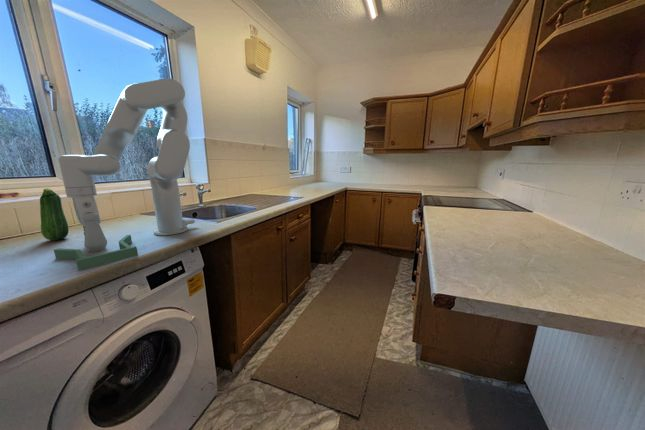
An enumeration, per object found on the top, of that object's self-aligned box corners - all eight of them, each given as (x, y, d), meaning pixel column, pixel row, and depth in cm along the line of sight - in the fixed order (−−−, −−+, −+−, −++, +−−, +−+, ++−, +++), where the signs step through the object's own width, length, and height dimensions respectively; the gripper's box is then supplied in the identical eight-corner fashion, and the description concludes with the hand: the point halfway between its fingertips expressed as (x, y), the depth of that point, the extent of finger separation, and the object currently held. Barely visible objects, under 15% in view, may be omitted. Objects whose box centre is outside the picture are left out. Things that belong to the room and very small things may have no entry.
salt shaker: (95, 253, 82) (86, 215, 79) (81, 252, 83) (72, 214, 80) (112, 247, 87) (105, 211, 84) (99, 246, 88) (92, 211, 86)
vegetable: (56, 237, 99) (44, 187, 94) (76, 236, 99) (64, 187, 95) (38, 243, 91) (23, 189, 87) (59, 242, 92) (45, 189, 88)
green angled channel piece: (131, 241, 93) (130, 234, 93) (148, 253, 82) (147, 244, 82) (55, 258, 78) (53, 249, 77) (64, 274, 67) (61, 264, 67)
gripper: (100, 192, 83) (111, 244, 87) (91, 189, 92) (101, 235, 96) (69, 195, 77) (82, 250, 81) (62, 191, 86) (74, 240, 91)
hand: (92, 242), depth 89 cm, fingers closed
